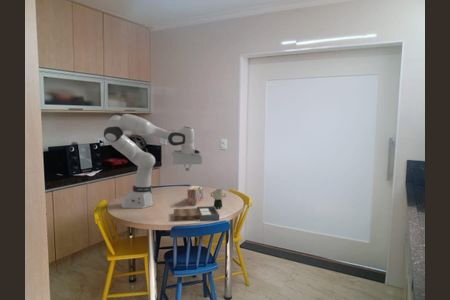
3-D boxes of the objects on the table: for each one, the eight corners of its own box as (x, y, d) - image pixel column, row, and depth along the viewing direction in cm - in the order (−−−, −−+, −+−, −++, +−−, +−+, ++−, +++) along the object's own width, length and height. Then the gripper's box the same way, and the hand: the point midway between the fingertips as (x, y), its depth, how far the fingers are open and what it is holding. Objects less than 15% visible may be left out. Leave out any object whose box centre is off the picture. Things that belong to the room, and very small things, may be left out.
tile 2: (201, 218, 198) (201, 214, 197) (200, 215, 203) (200, 211, 203) (211, 218, 199) (211, 214, 199) (209, 215, 205) (209, 211, 204)
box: (200, 220, 195) (200, 215, 194) (197, 211, 213) (197, 206, 213) (219, 219, 197) (219, 214, 197) (214, 210, 216) (214, 206, 215)
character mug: (225, 206, 227) (225, 188, 226) (225, 209, 220) (226, 191, 219) (210, 206, 227) (210, 188, 226) (210, 209, 220) (210, 191, 219)
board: (174, 220, 193) (174, 216, 193) (173, 213, 208) (173, 209, 208) (200, 219, 197) (200, 215, 196) (197, 212, 211) (197, 208, 211)
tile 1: (200, 215, 205) (200, 211, 204) (199, 212, 211) (199, 208, 210) (209, 214, 206) (209, 211, 206) (208, 211, 212) (208, 208, 212)
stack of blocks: (195, 198, 250) (195, 183, 248) (203, 198, 248) (203, 183, 247) (187, 205, 229) (187, 188, 227) (195, 205, 228) (195, 189, 226)
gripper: (172, 150, 206) (172, 171, 208) (202, 151, 210) (202, 171, 212) (172, 149, 212) (171, 169, 214) (201, 150, 217) (201, 169, 218)
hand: (187, 170), depth 213 cm, fingers closed
